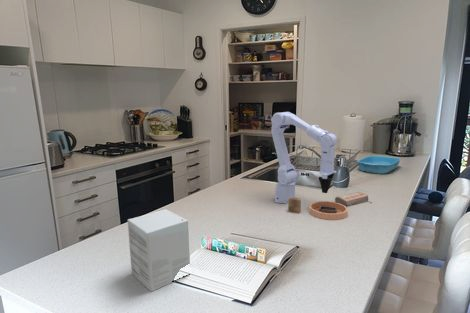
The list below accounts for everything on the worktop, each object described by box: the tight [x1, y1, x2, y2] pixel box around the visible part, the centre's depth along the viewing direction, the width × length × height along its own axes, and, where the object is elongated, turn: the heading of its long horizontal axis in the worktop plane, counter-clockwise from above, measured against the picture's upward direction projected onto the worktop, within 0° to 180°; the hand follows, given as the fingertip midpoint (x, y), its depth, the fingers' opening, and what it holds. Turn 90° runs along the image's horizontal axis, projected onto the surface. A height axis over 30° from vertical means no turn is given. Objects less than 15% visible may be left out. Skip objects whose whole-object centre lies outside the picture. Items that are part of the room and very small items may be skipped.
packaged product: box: [330, 191, 373, 207], centre depth 155 cm, size 18×5×10 cm
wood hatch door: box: [287, 197, 302, 214], centre depth 143 cm, size 5×2×7 cm, turn 66°
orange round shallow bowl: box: [308, 200, 349, 221], centre depth 141 cm, size 16×16×4 cm
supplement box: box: [127, 208, 191, 292], centre depth 96 cm, size 13×13×18 cm
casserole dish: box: [357, 155, 402, 175], centre depth 222 cm, size 37×22×7 cm, turn 138°
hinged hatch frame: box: [319, 206, 337, 213], centre depth 141 cm, size 7×5×2 cm, turn 66°
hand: (325, 190), depth 145 cm, fingers open, 7 cm apart
